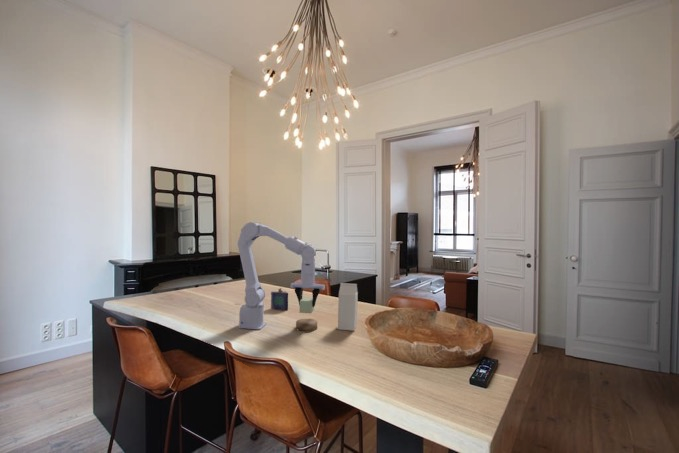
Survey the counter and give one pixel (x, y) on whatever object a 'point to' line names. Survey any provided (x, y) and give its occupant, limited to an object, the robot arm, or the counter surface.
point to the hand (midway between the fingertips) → (307, 305)
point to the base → (306, 325)
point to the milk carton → (347, 306)
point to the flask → (279, 300)
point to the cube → (306, 305)
